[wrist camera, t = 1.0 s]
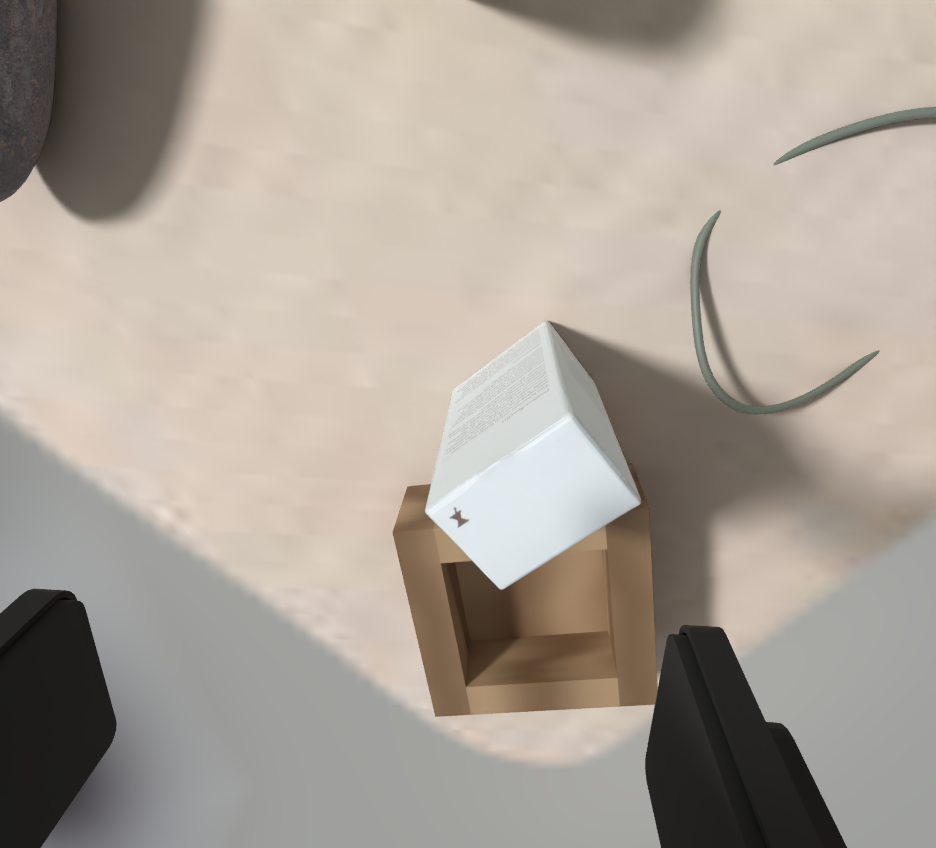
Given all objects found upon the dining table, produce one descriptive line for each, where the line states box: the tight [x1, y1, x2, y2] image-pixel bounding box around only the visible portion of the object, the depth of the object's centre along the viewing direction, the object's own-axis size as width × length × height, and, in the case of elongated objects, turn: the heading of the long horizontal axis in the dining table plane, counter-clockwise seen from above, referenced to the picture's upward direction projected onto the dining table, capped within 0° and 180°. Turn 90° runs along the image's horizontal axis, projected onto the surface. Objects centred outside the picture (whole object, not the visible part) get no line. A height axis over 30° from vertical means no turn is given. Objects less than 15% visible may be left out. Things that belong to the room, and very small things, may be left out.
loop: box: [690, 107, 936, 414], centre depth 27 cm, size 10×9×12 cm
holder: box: [393, 464, 658, 717], centre depth 33 cm, size 12×12×4 cm
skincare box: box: [425, 321, 641, 590], centre depth 26 cm, size 6×4×12 cm
